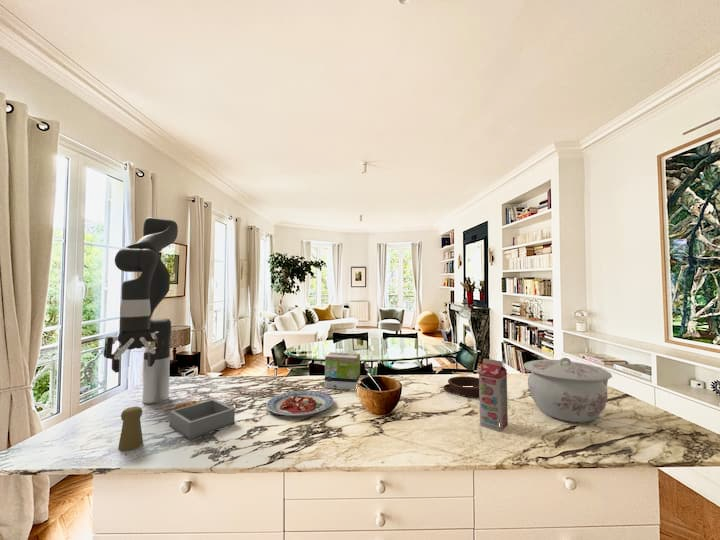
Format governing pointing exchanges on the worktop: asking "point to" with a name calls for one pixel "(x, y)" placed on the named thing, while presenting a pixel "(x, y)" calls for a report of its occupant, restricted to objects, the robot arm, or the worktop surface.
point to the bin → (201, 418)
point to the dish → (459, 382)
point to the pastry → (183, 405)
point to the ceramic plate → (299, 403)
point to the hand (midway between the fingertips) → (133, 369)
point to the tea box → (342, 370)
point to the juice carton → (493, 395)
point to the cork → (131, 429)
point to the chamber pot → (568, 389)
